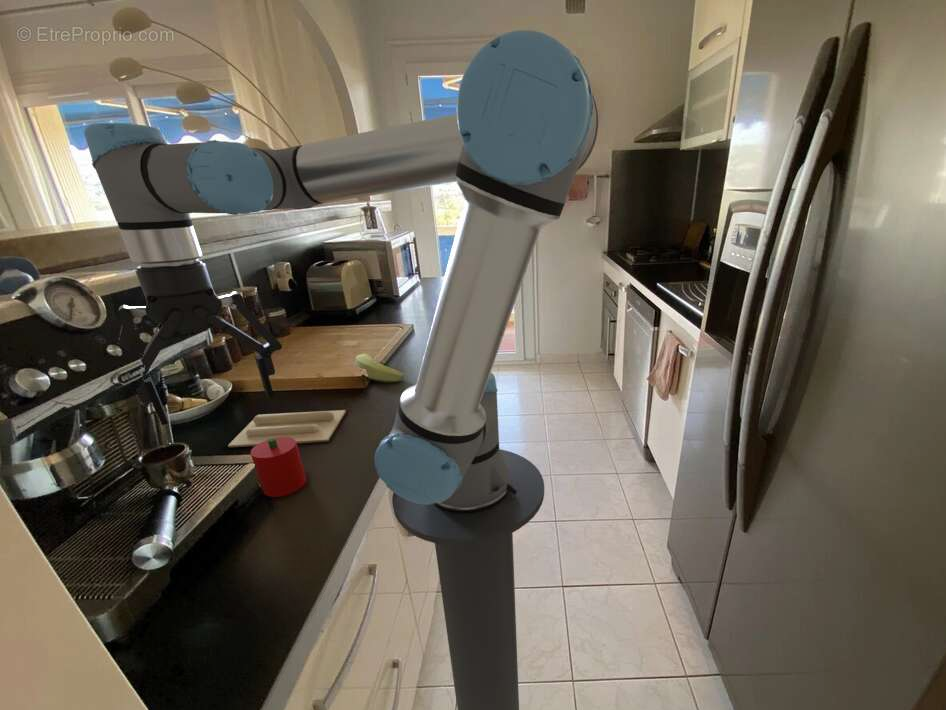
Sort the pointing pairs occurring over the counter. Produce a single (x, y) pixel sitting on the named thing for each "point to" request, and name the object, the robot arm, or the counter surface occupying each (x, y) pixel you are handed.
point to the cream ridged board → (290, 427)
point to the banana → (377, 370)
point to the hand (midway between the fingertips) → (220, 407)
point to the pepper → (279, 466)
